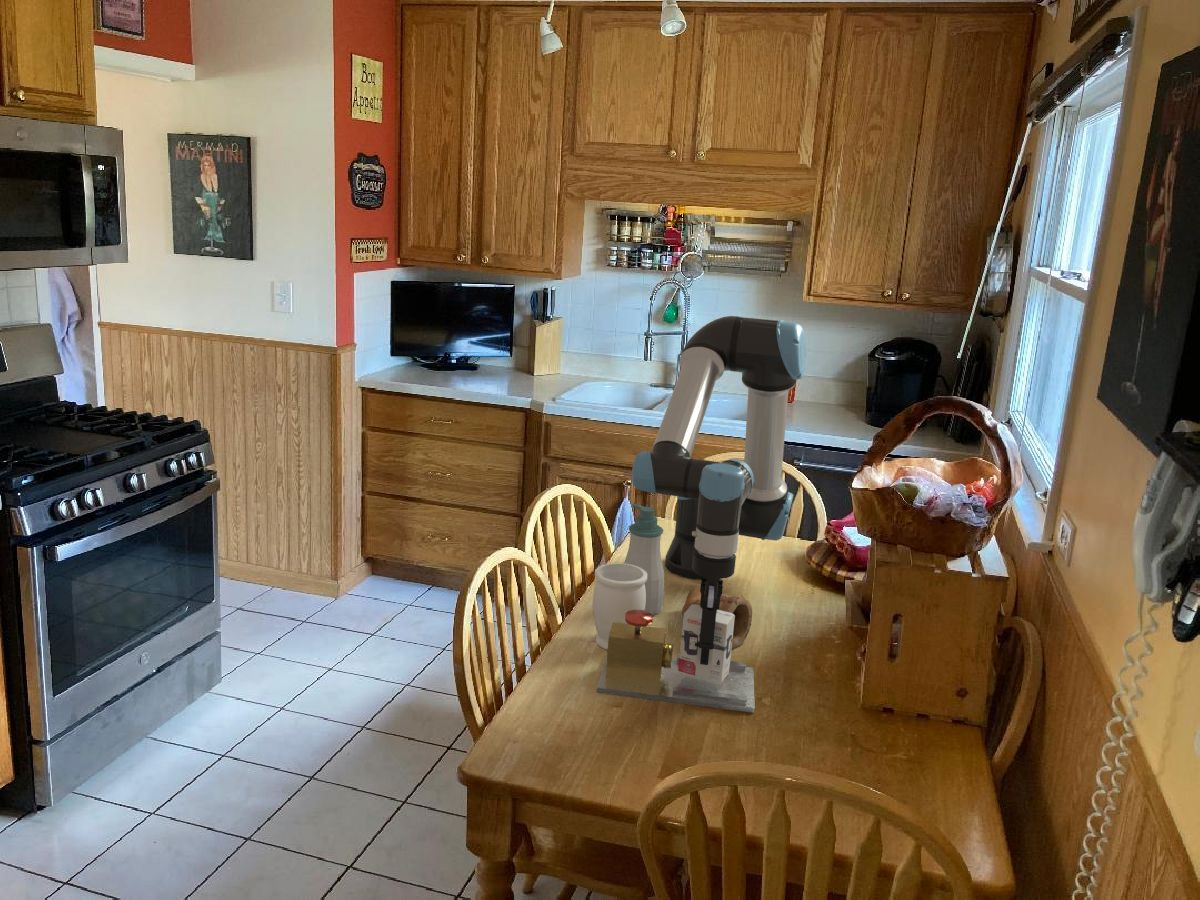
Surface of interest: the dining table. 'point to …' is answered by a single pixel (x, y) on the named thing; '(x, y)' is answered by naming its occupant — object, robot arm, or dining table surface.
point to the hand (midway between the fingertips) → (703, 669)
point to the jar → (616, 596)
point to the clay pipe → (728, 604)
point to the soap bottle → (648, 556)
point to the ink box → (721, 642)
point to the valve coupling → (666, 670)
